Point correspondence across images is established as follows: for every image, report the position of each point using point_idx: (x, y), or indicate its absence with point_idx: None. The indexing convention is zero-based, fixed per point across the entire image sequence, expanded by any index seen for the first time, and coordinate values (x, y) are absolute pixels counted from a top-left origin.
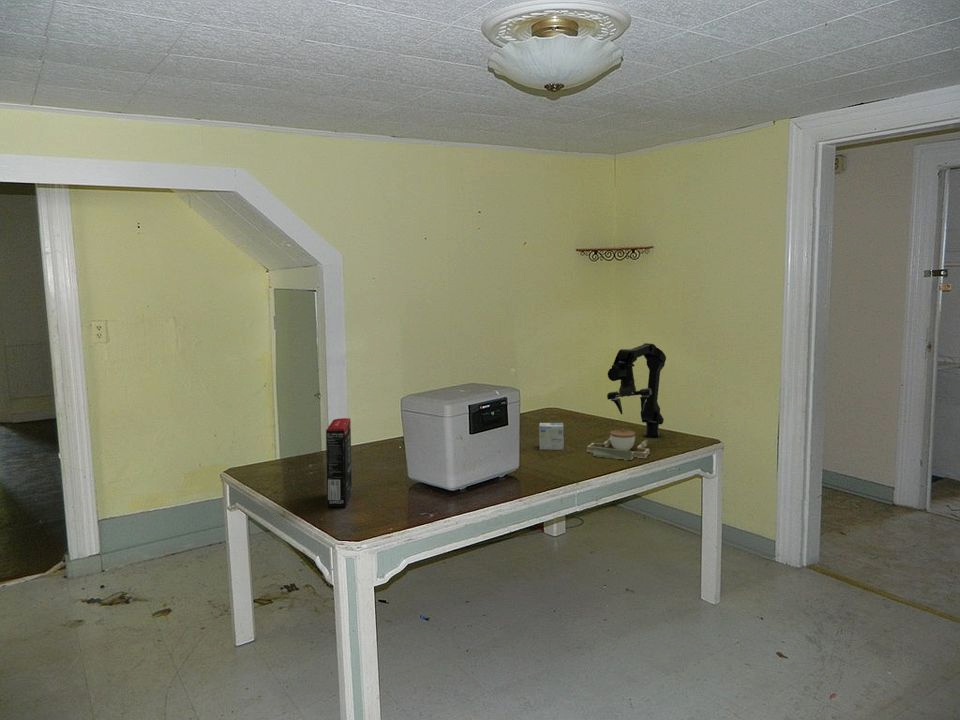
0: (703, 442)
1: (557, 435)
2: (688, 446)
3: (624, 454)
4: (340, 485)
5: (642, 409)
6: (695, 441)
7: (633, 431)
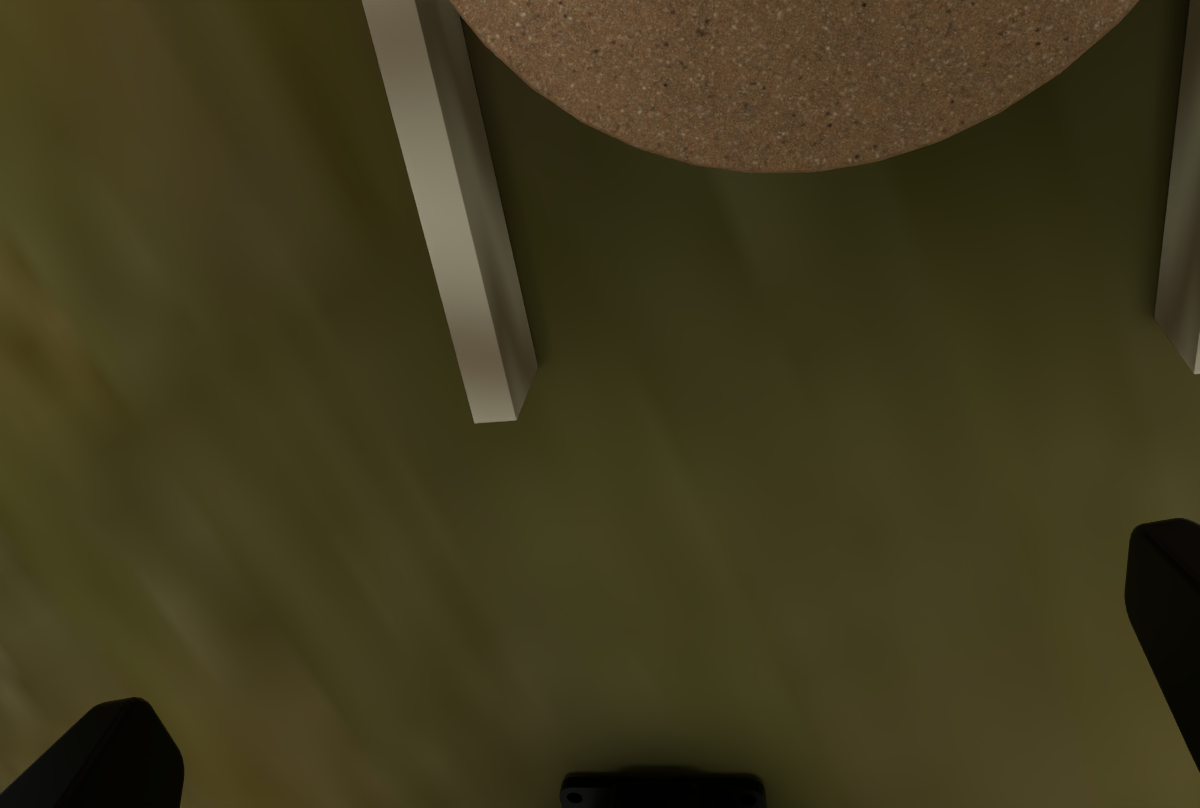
0: None
1: None
2: (17, 563)
3: None
4: None
5: (2, 805)
6: None
7: (533, 83)
